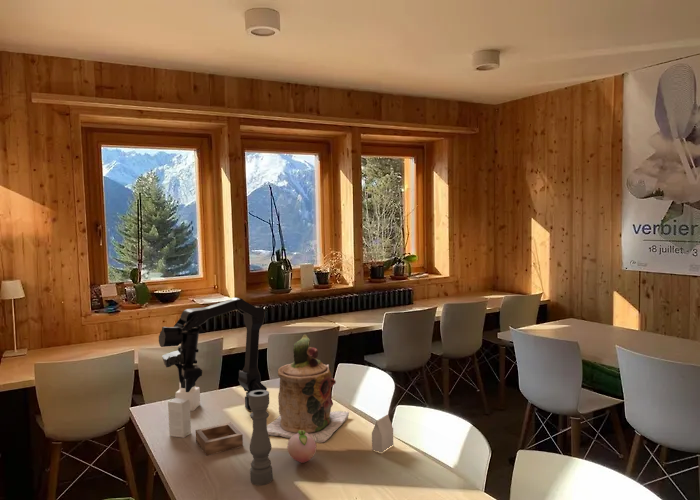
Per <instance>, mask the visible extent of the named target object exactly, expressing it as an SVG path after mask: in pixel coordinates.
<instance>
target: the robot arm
mask: <svg viewBox="0 0 700 500" xmlns="http://www.w3.org/2000/svg"><path fill="white" fill-rule="evenodd" d="M236 310H237V311H238V313H240V314H242V315H243V323H244V325H245V328H246V335H245V336H246V337H245V338H246V339H245V353H244V354H245V355H244V365H243V366H244V367H243V368H242V370H240V369H239V370H238V379H237V381H238V382H239V385H240V387H242V388H243V390H244V392H245V396H244V407H245V408H246V409H247V410H248V411H249V412H252V410H251V409H250V406H249V393H250V392H251V391H255V390H267V391H268V388H267V386H265V385H264V384H263V383H262V380H261V373H260V371H259V368H258V359H259V346H260V345H259V342H260V330H261V328H262V326H263V324H264V321H265V315H266V314H265V310H264V309H263V307H260V306H255V305H253V304H251V303H249V302H247V301H246V300H244V299H243V298H240V297H232V298H231V299H227V300H224V301H221V302H218V303H214V304H211V305H209V306H206V307H193V308H192V307H191V308H186V309H184V310H183V311H182V312H181V314H180V318H178V320H176V323H175V324H174V326H162V327H161V330H160V332H159V335H158V344H159V346H160V347H161V348H166V347H168V348H169V347H177V350H174V351H171V352H167V353H164V354H163V355H161V357H162V360H163V365H164V366H165V367H166V368H171V367H172V366H175V367H176V368H177V373H178V383H179V382H180V383H182V382H183V381H184V379H185V389H186V392H189V391H190V390H191V388H192V387H193V385H194V383H195V384H196V382H197V380H198V379H199V378H200V377H202V376H203V369H202V368H201V367H200V366H199V365H198V360H197V353H199V348H198V345H199V344H198V343H199V335H200V334H205V333H206V330H204V329H203V327H202V326H201V325H203V324H205V323H206V322H208V320H210V319H212V318H216V317H218V316H221V315H225V314H227V313H230V312H233V311H236Z"/></svg>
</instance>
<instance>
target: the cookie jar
mask: <svg viewBox="0 0 700 500" xmlns="http://www.w3.org/2000/svg"><path fill="white" fill-rule="evenodd" d="M310 345H311V339H310V338H309V336H307V334H303V335H302V337H301V338H300V339H299V340H298V341H295V342H294V344H293V350H292V351H293V361H292V362H291V363H287V364H285V365H282V366H280V367H279V368H278V369H277V375H278V378H279V389H278V390H279V391H278V394H277V395H278V396H277V397H278V414H279V416H278V417H277V418H275V420H273V421H271V422H270V423H268V424H267V431H268V435H269V436H271V437H273V436H276V437H277V436H279V437H283V438H287V439H290V438H291V437H292V436H293V435H295V434H297V433H298V431H299V430H304V431H305V432H306V433H308V434H309V435H310V436H311V437H312V438H313V440H314V441H315V443H325V442H327V441H328V440H329V439H330V438H331V437H332V435H333V434H334V433H335V432H336V431H337V430H338V429H339V428H340V427H341V426H342V425H343V424H344V422H345V421H347V420H348V418H349V414H350V411H341V410H340V411H339V410H338V411H337V410H335V411H332V407H333V405H334V403H333V399H332V398H333V397H332V393H331V391H332V387H333V386H334V385H335V384H336V383H337V382H336V379H334V378H333V377H332V369H331V366H330V364H324V363H323V362H322V361H321V360H320V359H318V356H319V351H318V348H316V347H313V346H310Z"/></svg>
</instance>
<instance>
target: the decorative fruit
mask: <svg viewBox="0 0 700 500" xmlns="http://www.w3.org/2000/svg"><path fill="white" fill-rule="evenodd" d="M316 443H317V442H315V441H314V440H313V438H312V437H311V436H310V435H309V434H308V433H306V432H305V431H304V430H299V431H298V433H297V434H295V435H293V436H292V437H291V438H288V441H287V447H286V448H287V452H288V454H289V457H291V459H293V460H294V461H297V462H299V463H301V464H304V463H307V462H308V461H310V460H311V459H312V458H313V457H314V455H315V454H316V452H317V444H316Z"/></svg>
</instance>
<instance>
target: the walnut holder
mask: <svg viewBox="0 0 700 500" xmlns="http://www.w3.org/2000/svg"><path fill="white" fill-rule="evenodd" d="M243 436H244V435H243V433H242V432H241V431H240V430H239V429H238V428H237V427H236V426H235V425H234V424H233V423H232V422H227V423H221V424H217V425H212V426H209V427H203V428H199V429H195V443H196V444H197V445H198V447H199V448H200V450H201V451H202V452H203V453H204V455H205V456H209V455H213V454H214V455H215V454H218V453H221V452H225V451H230V450H234V449H238V448H242V447H244V438H243Z"/></svg>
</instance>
